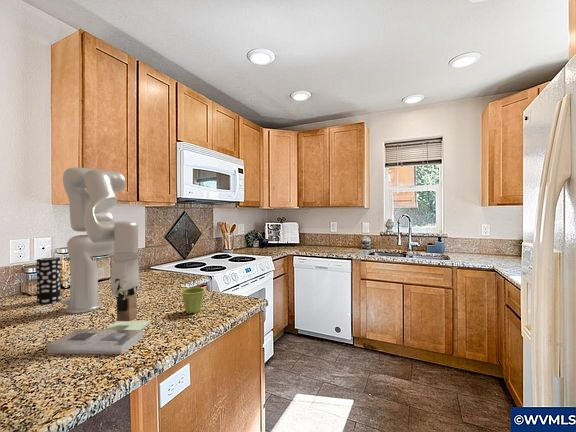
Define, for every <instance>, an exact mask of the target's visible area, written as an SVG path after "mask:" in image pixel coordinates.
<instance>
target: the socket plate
mask: <svg viewBox="0 0 576 432" xmlns="http://www.w3.org/2000/svg"><path fill="white" fill-rule="evenodd" d="M143 338H144V329H142V330H104V329H99V328H98V329H94V328H93V329H91V328H90V329H89V328H88V329H87V328H85V329H83V328H80V329H79V328H76V329H75V330H73V331H71V332H69V333H67V334H65V335H64V336H61V337H59V338H58V339H55V340H54V341H52V342H50V343H48V344H47V354H74V355H75V354H79V355H82V354H83V355H86V354H88V355H90V354H91V355H94V354H95V355H122V354H124V353H125V352H127V350H129V349H130V348H132V347H133V346H134V345H135V344H136V343H139V341H141V340H142V339H143Z"/></svg>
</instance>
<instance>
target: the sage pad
mask: <svg viewBox="0 0 576 432" xmlns="http://www.w3.org/2000/svg"><path fill="white" fill-rule="evenodd" d="M150 324H151V321H150V320H149V321H148V320H131V321H117V320H116V322H114V323H112V324H110V325H109V326H107V327H105V328H104V329H103V330H144V328H146V327H148V326H149V325H150Z"/></svg>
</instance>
